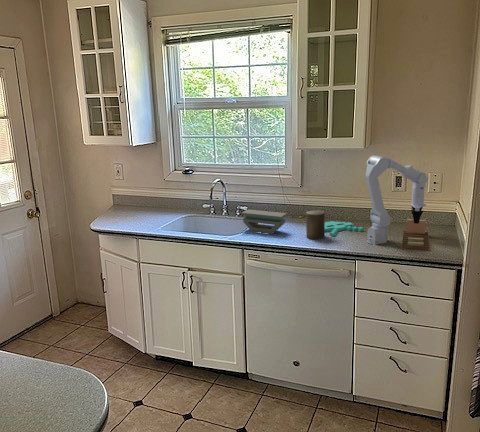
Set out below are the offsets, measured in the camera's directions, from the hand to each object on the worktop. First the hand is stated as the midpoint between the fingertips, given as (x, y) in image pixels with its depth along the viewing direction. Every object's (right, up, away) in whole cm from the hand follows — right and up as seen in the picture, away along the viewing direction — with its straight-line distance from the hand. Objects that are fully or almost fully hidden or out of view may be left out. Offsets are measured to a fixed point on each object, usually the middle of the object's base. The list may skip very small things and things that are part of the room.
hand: (416, 221), depth 229 cm
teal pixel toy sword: (-36, -5, +22) cm, 42 cm away
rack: (-3, -11, -6) cm, 13 cm away
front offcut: (-7, -13, -15) cm, 21 cm away
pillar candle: (-50, -9, +11) cm, 52 cm away
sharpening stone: (-77, -6, +25) cm, 81 cm away
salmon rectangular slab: (0, -8, +2) cm, 8 cm away
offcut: (-4, -11, -10) cm, 15 cm away
